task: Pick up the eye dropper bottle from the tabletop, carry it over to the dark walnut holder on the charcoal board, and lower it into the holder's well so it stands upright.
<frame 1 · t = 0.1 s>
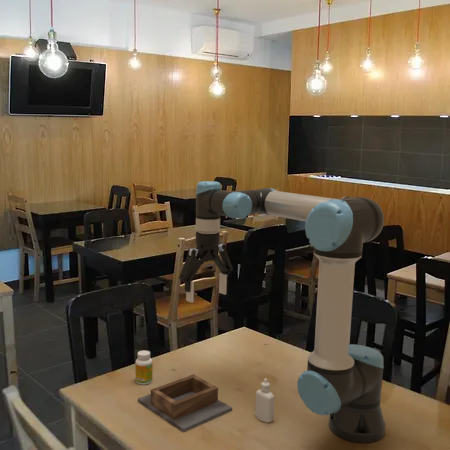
hand: (206, 297, 176), 28 cm above the table, tool pointing down, fingers open, 13 cm apart
eye dropper bottle: (264, 419, 158), on the table
supplement bottle: (144, 381, 179), on the table
bottle holder: (184, 406, 164), on the table
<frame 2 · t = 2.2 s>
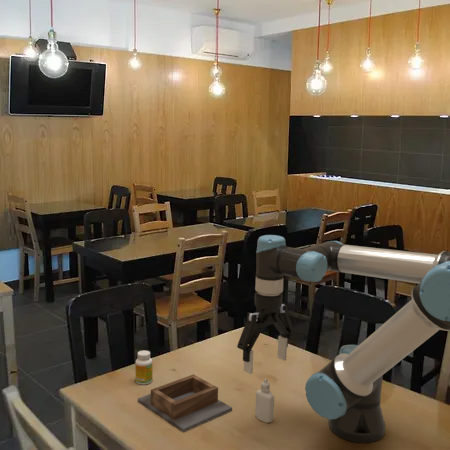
hand: (265, 365, 155), 16 cm above the table, tool pointing down, fingers open, 13 cm apart
nothing on the table moved.
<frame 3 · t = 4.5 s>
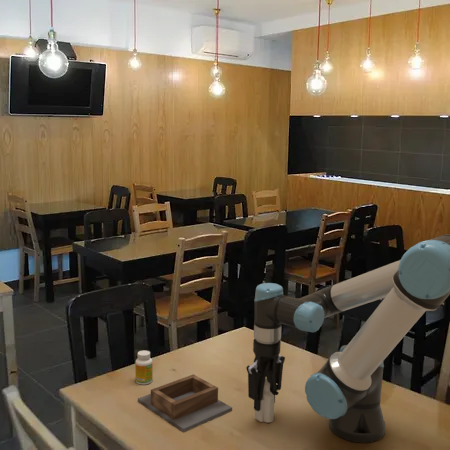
hand: (264, 417, 158), 0 cm above the table, tool pointing down, fingers closed on eye dropper bottle, 3 cm apart
eye dropper bottle: (264, 419, 158), on the table, touching gripper
everything else where it was.
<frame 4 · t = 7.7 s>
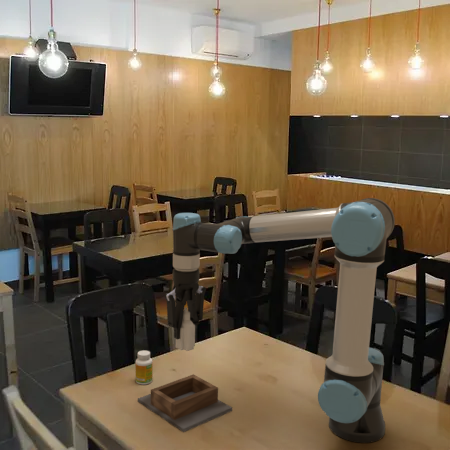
hand: (185, 346, 160), 18 cm above the table, tool pointing down, fingers closed on eye dropper bottle, 3 cm apart
eye dropper bottle: (185, 348, 160), point 18 cm above the table, touching gripper
everything else where it was.
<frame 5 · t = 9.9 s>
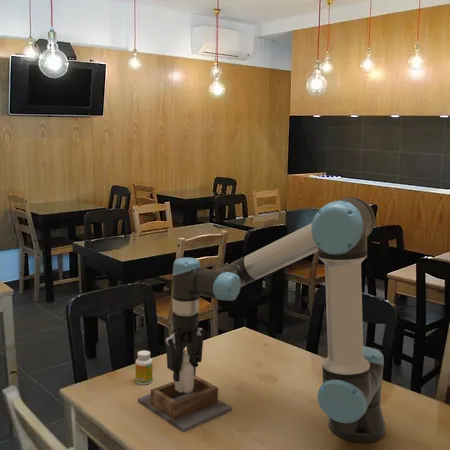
hand: (184, 388, 163), 6 cm above the table, tool pointing down, fingers closed on eye dropper bottle, 3 cm apart
eye dropper bottle: (184, 390, 163), point 5 cm above the table, touching gripper
everything else where it was.
when the fingers open (3 cm above the table, at t = 11.3 s): eye dropper bottle drops 2 cm, resting on bottle holder.
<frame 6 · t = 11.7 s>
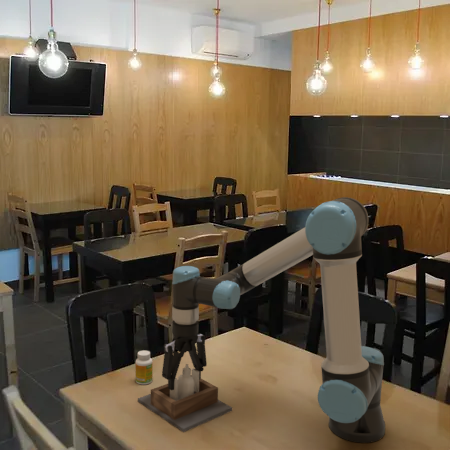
hand: (184, 394, 163), 4 cm above the table, tool pointing down, fingers open, 7 cm apart
eye dropper bottle: (184, 403, 163), point 1 cm above the table, touching bottle holder
everything else where it was.
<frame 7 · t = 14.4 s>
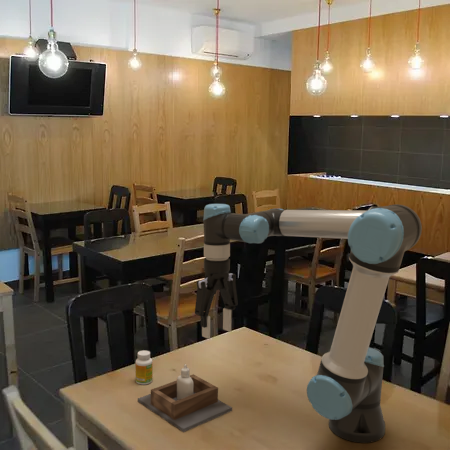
hand: (216, 333, 163), 21 cm above the table, tool pointing down, fingers open, 8 cm apart
nothing on the table moved.
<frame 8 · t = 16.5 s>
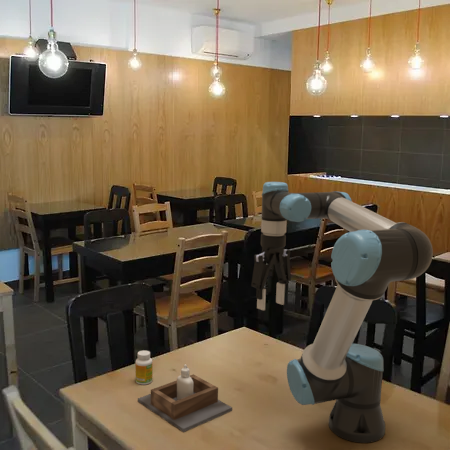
hand: (270, 306, 171), 27 cm above the table, tool pointing down, fingers open, 8 cm apart
nothing on the table moved.
at the end: eye dropper bottle inside the target area on the bottle holder (0.2 cm from its centre), point 0.8 cm above the bottle holder's base; eye dropper bottle tilted 0°; the gripper is holding nothing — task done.
